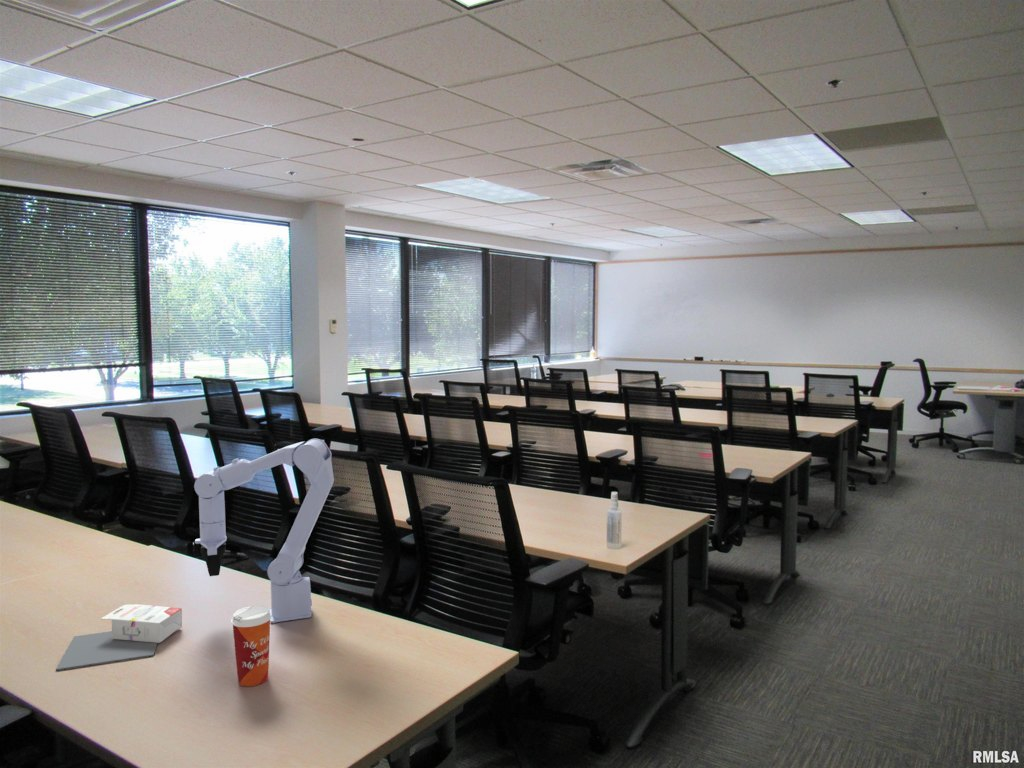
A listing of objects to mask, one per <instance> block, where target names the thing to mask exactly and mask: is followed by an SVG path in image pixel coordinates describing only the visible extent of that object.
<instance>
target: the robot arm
mask: <svg viewBox="0 0 1024 768" xmlns="http://www.w3.org/2000/svg"><path fill="white" fill-rule="evenodd" d="M332 454H333V453H332V451H331V449H330V448H329V447H328V445H327V443H326V442H325V441H324V440H322V439H319V438H311V439H308V440H307V441H305V440H304V441H300V442H296V443H293V444H290V445H286V446H284V447H282V448H281V447H280V448H279V449H277V450H274V451H272V452H270V453H267V454H265V455H263V456H260V457H258V458H256V459H253V460H248V459H246V458H240V459H239V458H238V457H237V458H234V459H232V460H231V463H228V464H226V465H224V466H216V467H213V469H212V470H209V471H207V472H206V473H203V474H202V475H199V477H198V478H196V480H195V481H194V485H193V488H194V491H195V493H196V494H197V496H198V510H199V511H198V512H199V513H198V514H199V517H198V519H199V538H196V539H195V540H194V543H195V544H197V545H199V544H200V545H201V547H200V554H201V556H202V557H203V558H204V561H205V564H206V567H207V571H208V576H209V577H215V576H216V577H217V576H219V575H220V572H221V566H222V560H223V556H224V554H225V552H226V549H227V543H226V542H227V539H228V537H227V532H226V531H227V530H226V506H225V505H226V504H225V503H226V501H225V491H228V490H231V489H233V488H236V487H239V486H242V485H244V484H247V483H248V482H251V481H253V479H254V478H255V475H256V474H257V473H260V472H262V471H263V472H264V471H266V470H268V469H272V468H274V467H277V466H279V465H280V466H281V465H283V464H285V465H287V466H289V467H294V466H296V468H298V470H300V471H301V472H302V473H303V474H304V475H305V476H306V477H307V480H308V481H309V483H310V486H309V488H308V490H307V493H306V495H305V498H304V499H303V502H302V504H301V506H300V508H299V511H298V513H297V515H296V517H295V519H294V522H293V525H292V526H291V529H290V531H289V533H288V535H287V538H286V540H285V542H284V543H283V545H282V547H281V549H280V551H279V552H278V554H277V556H276V558H274V560H273V561H271V562H270V564H269V565H268V567H267V576H268V577H267V578H268V579H269V580H270V599H271V603H270V605H271V608H270V609H269V612H270V613H271V615H272V617H271V619H270V624H271V623H272V624H273V623H280V622H287V621H292V620H293V621H294V620H302V619H307V618H311V617H312V607H313V605H312V604H313V602H312V594H311V593H312V591H311V590H312V588H311V580H310V577H309V576H302V573H301V571H300V569H301V568H302V566H303V564H304V553H305V550H306V545H307V543H308V540H309V538H310V536H311V533H312V531H313V529H314V527H315V525H316V523H317V521H318V518H319V515H320V514H321V512H322V510H323V507H324V505H325V503H326V500H327V498H328V496H329V493H330V492H331V489H332V487H333V485H334V482H335V477H334V471H333V469H334V468H333V462H332Z"/></svg>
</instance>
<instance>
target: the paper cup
mask: <svg viewBox="0 0 1024 768" xmlns="http://www.w3.org/2000/svg"><path fill="white" fill-rule="evenodd" d="M269 610H270V609H269V607H266V606H263V605H250V606H245V607H241V608H240V609H237V610H236V611H234V613H233V614H232V617H231V619H230V624H231V625H232V629H233V630H232V631H233V641H234V642H233V643H234V652H235V664H236V665H235V666H236V673H237V681H238V684H239V685H240V686H241V687H249V688H250V687H255V686H260V685H261V684H263V683H265V682H266V681H267V680H268V677H269V666H270V665H269V662H270V659H269V658H270V632H271V631H270V629H271V622H270V619H271V617H272V615H271V613H270V611H269Z"/></svg>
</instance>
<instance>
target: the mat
mask: <svg viewBox="0 0 1024 768" xmlns="http://www.w3.org/2000/svg"><path fill="white" fill-rule="evenodd" d="M156 646H158V643H155V642H143V641H131V640H119V639H112V630H111V631H104V632H97V633H89V634H88V633H87V634H81V635H75V636H73V638H72V640H71V642H70V643H69V645H68V647H67V649H66V651H65V652H64V653H63V656H62V657H61V658H60V660H59V663H58V665H57V666H56V668H55V671H56V672H58V670H59V671H64V669H66V670H71V669H72V668H73V669H77V668H78V667H79V668H84V667H83V666H86V667H90V666H89V665H92V666H98V665H97V664H99V665H103V664H104V665H105V664H110V663H109V662H112V663H116V662H115V661H118V662H122V661H121V660H125V661H130V660H129V659H132V660H135V658H138V659H143V657H145V658H150V657H149V656H151V657H154V656H155V654H156V649H157V647H156ZM154 653H155V654H154Z"/></svg>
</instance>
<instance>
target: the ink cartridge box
mask: <svg viewBox="0 0 1024 768" xmlns="http://www.w3.org/2000/svg"><path fill="white" fill-rule="evenodd" d="M182 611H183V610H182V608H180V607H172V606H171V607H170V606H162V605H161V606H160V605H150V604H149V605H148V604H138V603H137V604H136V603H135V604H123V605H121V606H120V607H117V608H116V609H114V610H113V611H111V612H109V613H107V614H106V615H104V616H103V617H101V618H100V619H101V620H102V621H103V620H111V631H112V639H119V640H131V641H143V642H155V643H157V644H160V643H162V642H163V641H164V640H165V639H168V638H169V637H170V636H171V635H172V634H174V633H175V632H178V630H179V629H181V628H182V627H183V624H182V623H183V617H182V616H183V615H182V614H183V613H182Z"/></svg>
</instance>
